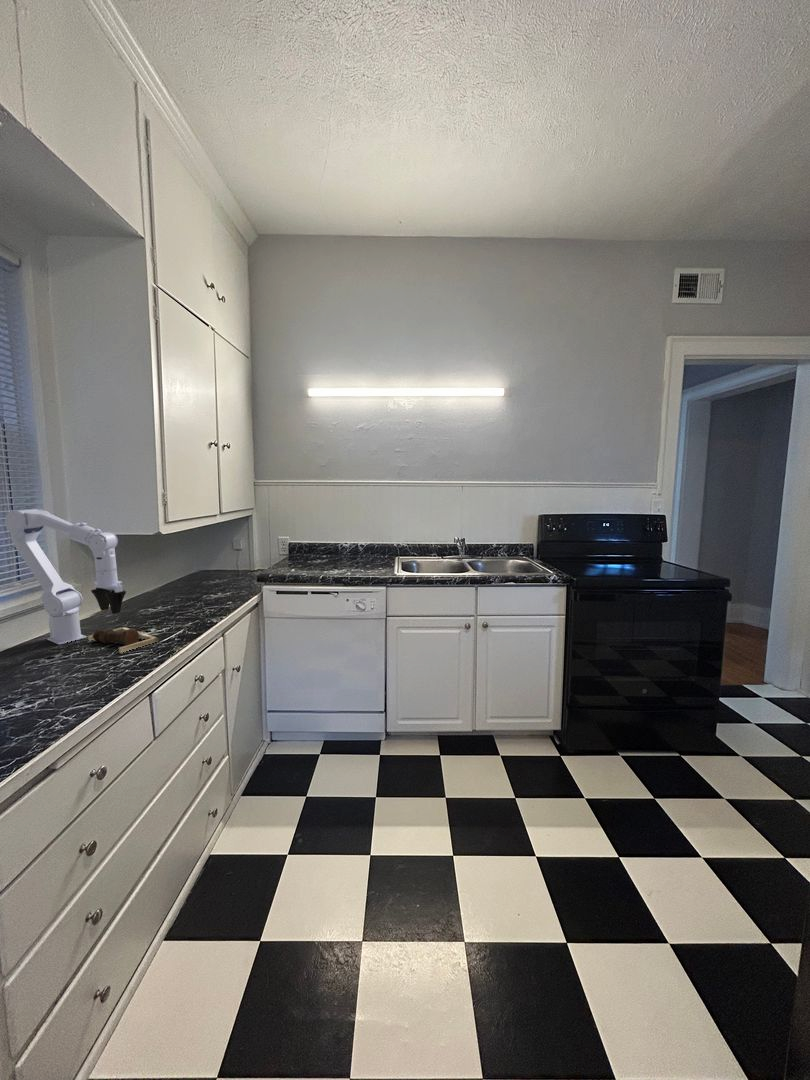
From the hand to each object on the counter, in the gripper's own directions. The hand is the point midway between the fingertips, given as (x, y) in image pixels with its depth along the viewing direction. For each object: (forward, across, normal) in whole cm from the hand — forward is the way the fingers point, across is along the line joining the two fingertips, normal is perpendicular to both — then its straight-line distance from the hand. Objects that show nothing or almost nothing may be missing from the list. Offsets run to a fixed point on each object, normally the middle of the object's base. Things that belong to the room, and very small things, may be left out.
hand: (110, 611), depth 153 cm
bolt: (+10, -4, +1) cm, 11 cm away
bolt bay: (+9, -5, 0) cm, 11 cm away
